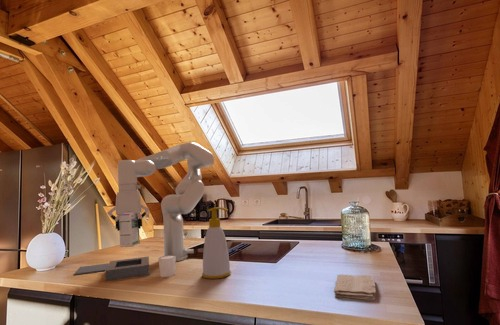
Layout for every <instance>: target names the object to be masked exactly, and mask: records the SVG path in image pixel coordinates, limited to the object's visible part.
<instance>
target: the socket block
mask: <svg viewBox="0 0 500 325" xmlns="http://www.w3.org/2000/svg"><path fill="white" fill-rule="evenodd" d="M104 272H105V282H109V281H117V280H122V279H130V278H137V277H144V276H149V275H150V257H149V256H140V257H134V258H133V257H132V258H127V259H124V258H123V259H119V260H118V259H117V260H111V261H109V265H108V267H107V269H106V271H104Z"/></svg>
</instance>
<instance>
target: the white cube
mask: <svg viewBox="0 0 500 325" xmlns="http://www.w3.org/2000/svg"><path fill="white" fill-rule="evenodd" d="M157 259H158V267H159V276H160V277H161V278H170V277H173V276H175V274H176V262H177V261H176V256H160V257H158V258H157Z"/></svg>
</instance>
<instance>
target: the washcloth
mask: <svg viewBox="0 0 500 325" xmlns="http://www.w3.org/2000/svg"><path fill="white" fill-rule="evenodd" d="M374 278H375V277H374V275H370V274H369V275H367V274H364V275H363V274H361V275H352V274H337V277H336V281H335V286H334V289H333V293H334V298H339V299H344V300H353V301H354V300H355V301H366V302H367V301H368V302H374V301H375V300H376V296H377V294H376V293H377V290H376V284H375V279H374Z"/></svg>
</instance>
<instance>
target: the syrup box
mask: <svg viewBox="0 0 500 325" xmlns="http://www.w3.org/2000/svg"><path fill="white" fill-rule="evenodd" d="M138 219H139V217H138V215H137V214H133V212H124V214H123V215H120V218H119V246H120V248H132V247H135V246H137V245H140V243H141V240H140V239H141V238H140V229H139V223H138Z"/></svg>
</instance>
